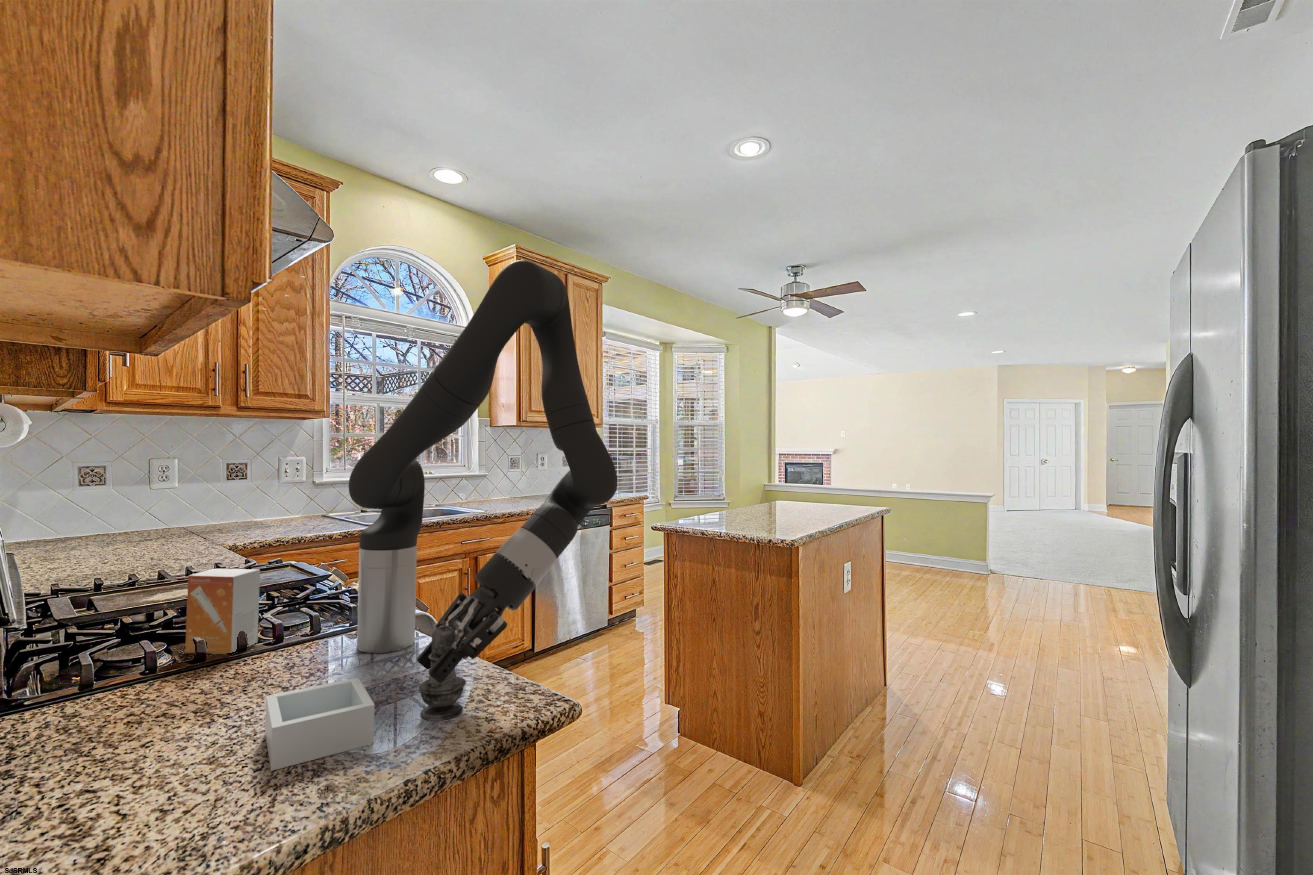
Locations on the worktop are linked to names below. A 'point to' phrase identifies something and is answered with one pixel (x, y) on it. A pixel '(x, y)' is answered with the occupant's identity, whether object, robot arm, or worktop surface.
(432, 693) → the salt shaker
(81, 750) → the worktop surface
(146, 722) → the worktop surface
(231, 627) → the small box
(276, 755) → the sleeve
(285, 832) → the worktop surface
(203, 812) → the worktop surface
